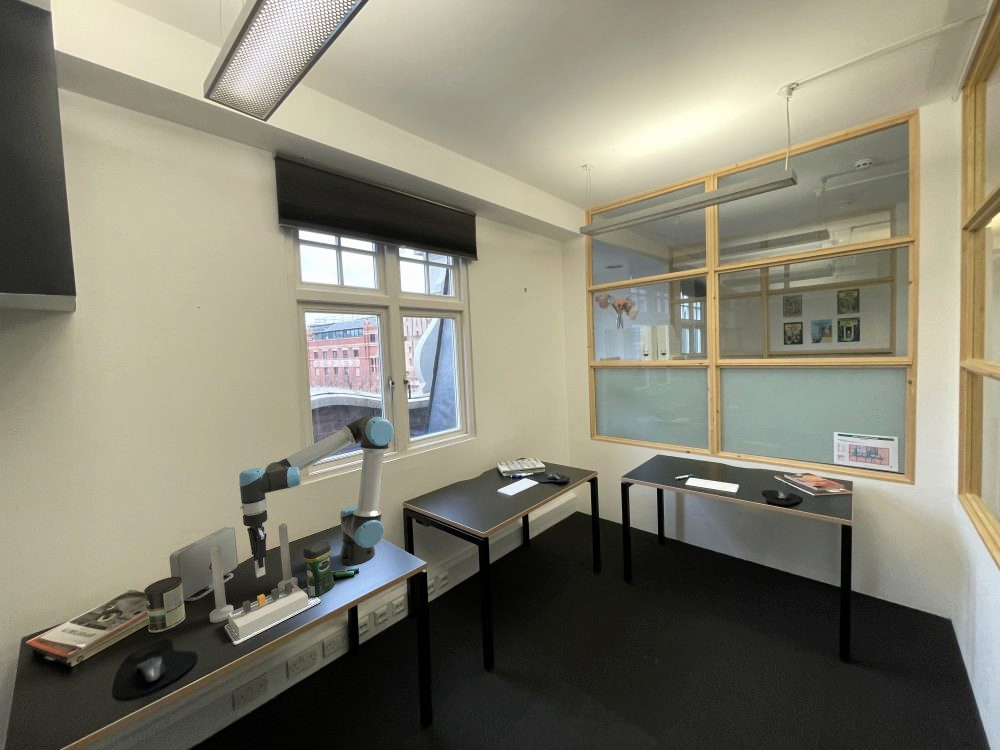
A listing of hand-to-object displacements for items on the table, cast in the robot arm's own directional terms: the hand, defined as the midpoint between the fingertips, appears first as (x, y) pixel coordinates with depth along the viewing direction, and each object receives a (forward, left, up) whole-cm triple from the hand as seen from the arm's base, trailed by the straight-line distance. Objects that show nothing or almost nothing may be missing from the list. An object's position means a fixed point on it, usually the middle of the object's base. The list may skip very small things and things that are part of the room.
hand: (260, 575), depth 146 cm
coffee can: (+31, -6, -13) cm, 34 cm away
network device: (+25, -28, -13) cm, 40 cm away
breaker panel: (-3, +6, -12) cm, 14 cm away
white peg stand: (+13, -1, -12) cm, 18 cm away
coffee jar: (-19, -3, -13) cm, 23 cm away
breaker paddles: (-3, +6, -7) cm, 10 cm away
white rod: (-6, -12, -12) cm, 18 cm away
